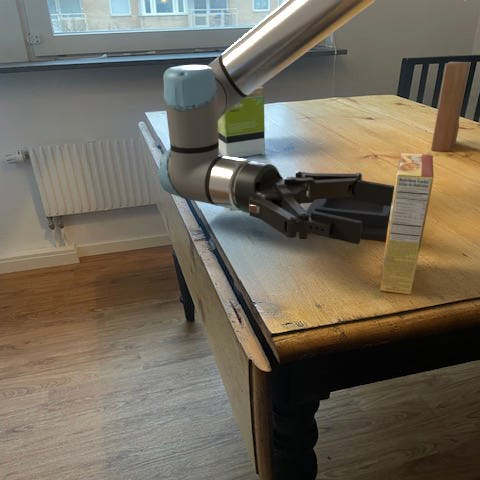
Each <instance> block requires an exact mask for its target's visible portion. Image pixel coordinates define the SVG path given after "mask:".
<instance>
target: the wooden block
mask: <svg viewBox="0 0 480 480" xmlns="http://www.w3.org/2000/svg"><path fill="white" fill-rule="evenodd" d="M470 67H471V62H470V61H449V62H447V63H446V64H445V68H444V72H443V79H442V84H441V90H440V96H439V100H438V107H437V113H436V118H435V123H434V129H433V136H432V141H431V147H430V150H431V151H434V152H435V151H436V152H444V153H445V152H446V153H450V152H452V151H453V148H454V147H455V144H456V143H457V138H458V134H459V128H460V117H461V111H462V107H463V101H464V96H465V91H466V86H467V81H468V77H469V72H470Z"/></svg>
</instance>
